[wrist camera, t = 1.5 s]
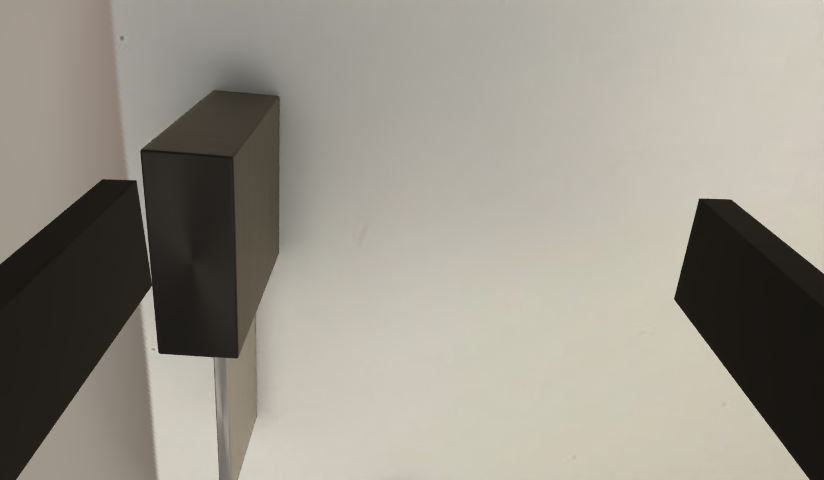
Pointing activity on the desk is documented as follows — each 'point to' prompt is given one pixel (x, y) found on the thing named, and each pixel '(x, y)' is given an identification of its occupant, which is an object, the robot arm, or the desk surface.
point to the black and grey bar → (215, 246)
